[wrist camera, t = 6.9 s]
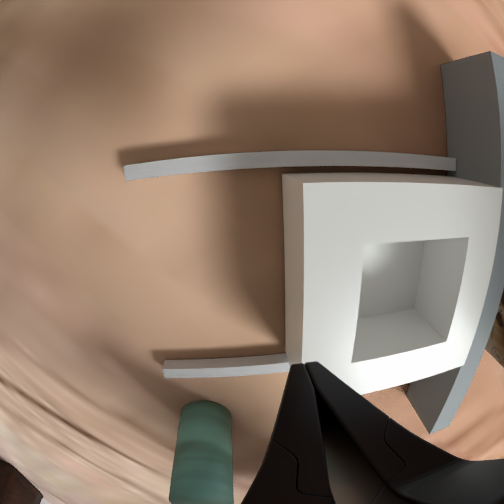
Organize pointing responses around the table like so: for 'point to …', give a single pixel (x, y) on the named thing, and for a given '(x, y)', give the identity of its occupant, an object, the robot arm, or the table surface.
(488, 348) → the coffee box
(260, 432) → the table surface
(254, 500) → the robot arm
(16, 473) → the black box with stems
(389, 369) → the socket block
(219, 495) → the dowel
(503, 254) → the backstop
